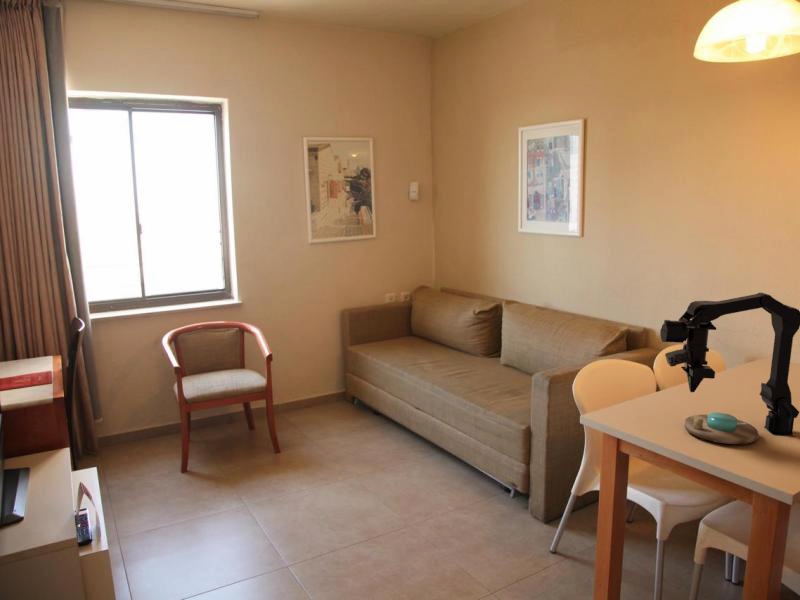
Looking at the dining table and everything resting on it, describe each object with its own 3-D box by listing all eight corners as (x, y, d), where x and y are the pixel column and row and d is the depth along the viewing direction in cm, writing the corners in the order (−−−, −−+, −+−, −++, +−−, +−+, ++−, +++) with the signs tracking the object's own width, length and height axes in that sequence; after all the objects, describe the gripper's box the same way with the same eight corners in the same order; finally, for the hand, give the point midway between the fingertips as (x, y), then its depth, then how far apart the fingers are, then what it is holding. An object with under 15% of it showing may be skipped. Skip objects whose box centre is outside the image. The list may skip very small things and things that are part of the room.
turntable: (724, 416, 205) (726, 403, 204) (773, 440, 185) (775, 426, 185) (670, 421, 200) (671, 408, 199) (715, 446, 181) (716, 432, 180)
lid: (723, 420, 197) (723, 411, 196) (742, 430, 189) (743, 420, 189) (701, 423, 195) (702, 413, 195) (720, 432, 187) (721, 423, 187)
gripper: (661, 334, 202) (657, 381, 205) (677, 349, 184) (672, 400, 187) (697, 336, 201) (693, 383, 204) (718, 351, 183) (712, 402, 185)
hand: (691, 391), depth 195 cm, fingers closed
